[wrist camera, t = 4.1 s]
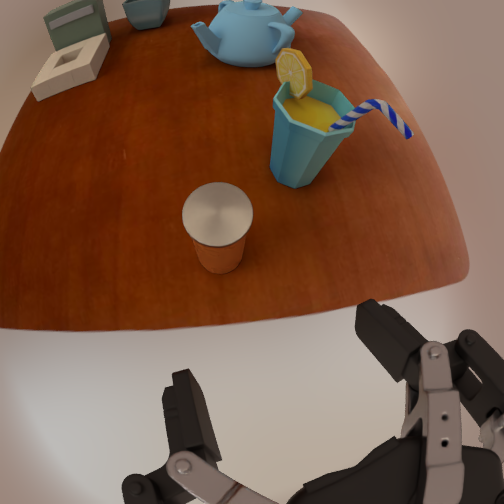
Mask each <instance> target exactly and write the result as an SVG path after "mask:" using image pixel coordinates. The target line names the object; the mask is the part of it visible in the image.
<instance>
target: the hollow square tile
mask: <svg viewBox="0 0 504 504" xmlns="http://www.w3.org/2000/svg"><path fill="white" fill-rule="evenodd" d="M109 47H110V46H109V42H108V39H107V35H106V33H104V34H101V35H98V36H95V37H92V38H89V39H86V40H83V41H81V42H78V43H75V44H73V45H70V46H68V47H66V48H63V49H61V50H59V51H56V52H54V53H52V55H51V56H50V57H49V59H48V60H47V62H46V63H45V65H44V66H43V68H42V69H41V71H40V73H39V74H38V76H37V78H36V79H35V81H34V83H33V84H32V86H31V91H32V92H33V94H34V96H35V97H36V99H37V101H41V100H43V99H45V98H47V97H50V96H52V95H54V94H57V93H59V92H62V91H64V90H67V89H70V88H72V87H75V86H78V85H81V84H83V83H86V82H89V81H92V80H95V79H96V77H97V75H98V72H99V70H100V68H101V65H102V63H103V60H104V58H105V56H106V54H107V52H108V49H109Z"/></svg>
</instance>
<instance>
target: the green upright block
mask: <svg viewBox="0 0 504 504" xmlns="http://www.w3.org/2000/svg"><path fill="white" fill-rule="evenodd" d="M44 21H45V24H46V26H47V29H48V32H49V34H50V37H51V40H52V42H53V45H54V47H55V50H56V51H59V50H61V49H63V48H66V47H68V46H70V45H73V44H75V43H78V42H81V41H83V40H86V39H89V38H92V37H95V36H98V35H101V34H104V33H106V35H107V39H108V42H109V43H110V41H111V39H112V38H111V34H110V30H109V26H108V22H107V18H106V13H105V9H104V5H103V0H74V1H71V2H69V3H67V4H65V5H62V6H60V7H58V8H56V9H54V10H52V11H50V12H49V13H48V14H47V15H46V16H45V17H44Z"/></svg>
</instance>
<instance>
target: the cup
mask: <svg viewBox="0 0 504 504" xmlns="http://www.w3.org/2000/svg"><path fill="white" fill-rule="evenodd" d="M275 62H276V70H277V78H278V79H279V81H280V83H281V85H282V86H281V87H280V89H279V90H278V92H277V94H276V95H275V97H274V99H273V108H274V109H275V121H274V131H273V141H272V151H271V161H270V169H271V171H272V173H273V174H274V176H275V178H276V180H277V182H279V183H282V184H284V185H287V186H289V187H292V188H294V189H295V188H299V187H302V186H305V185H308V184H310V183H311V182H312V181H313V179H314V178H315V176H316V175H317V174H318V172H319V171H320V170H321V168H322V167H323V166H324V164H325V163H326V162H327V160H328V159H329V158H330V156H331V155H332V154H333V152H334V151H335V149H336V148H337V147H338V145H339V144H340V143H341V141H342V140H343V139H344V138H346V137H349V136H350V134H351V133H352V132H353V131H354V126H355V121H356V120H357V119H358V118H360V117H361V116H363V115H365V114H366V113H368V112H369V111H371V110H372V109H379V110H380V111H381V112H382V113H383V114H384V115H385V116H386V117H387V118H388V119H389V120H390V121H391V123H392V124H393V125H394V126H395V127H396V128H397V129H398V130H399V131H400V132H401V134H402V135H403V136H404V137H405V138H406V139H409V138H410V137H412V136H413V135H414V133H413V132H412V130H411V129H410V128H409V127H408V126H407V124H406V123H405V122H404V121H403V120H402V119H401V118H400V116H399V115H398V114H397V113H396V112H395V111H394V110H393V109H392V108H391V107H390V105H389V104H388V103H387V102H386V101H382V100H378V99H371V100H366V101H365V102H363V103H362V104H360V105H359V106H358V107H356V108H354V107H353V105H352V104H351V103H350V102H349V101H348V100H347V98H346V97H345V96H344V95H343V94H342V93H341V92H340V90H338V89H335V88H333V87H330V86H328V85H326V84H323V83H320V82H318V81H315V80H312V68H311V66H310V65H309V63H308V62H307V60H306V59H305V57H304V55H303V54H302V52H301V51H299V50H295V49H290V48H283V49H281V51H280V53H279V54H278V56H277V58H276V59H275Z"/></svg>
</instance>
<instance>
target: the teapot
mask: <svg viewBox="0 0 504 504" xmlns="http://www.w3.org/2000/svg"><path fill="white" fill-rule="evenodd" d="M218 12H219V13H218V14H217V16H216V17H215V18H214V19H213V21H212V22H211V24H210V26H209V28H208V27H207V26H206V25H205V23H202V22H198V23H196V24H193V25H191V27H192V29H193V30H194V32H195V33H196V35H197V36H198V38H199V40H200V41H201V43H202V44H203V46H204V48H205V49H207V50H208V51H209V52H210V53H211V54H212V55H214V56H215V57H216V58H218V59H219V60H221V61H222V62H225V63H227V64H230V65H234V66H240V67H262V66H267V65H270V64H273V63H275V59H276V58H277V56H278V54H279V53H280V51H281V49H283V48H290V46H291V42H292V40H293V38H294V35H295V32H294V30H293V28H292V27H290V26H291V25H292V24H293V23H294V22H295V21H296V20H297V19H298V18H299V17H300V16H301V15H302V14H303V13H302V12H301V11H300V10H299V9H297V8H295V7H291V8H290V9H289V10H288V11H287V12H286V13H285V14H284V15H283V16H282V15H281V13H280V12H279V10H278V9H277V8H275V7H273V6H271V5H268V4H265V3H262V0H243V1H241V2H234V1H232V0H226V1H222V2H221V3H220V4H219V7H218Z"/></svg>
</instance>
